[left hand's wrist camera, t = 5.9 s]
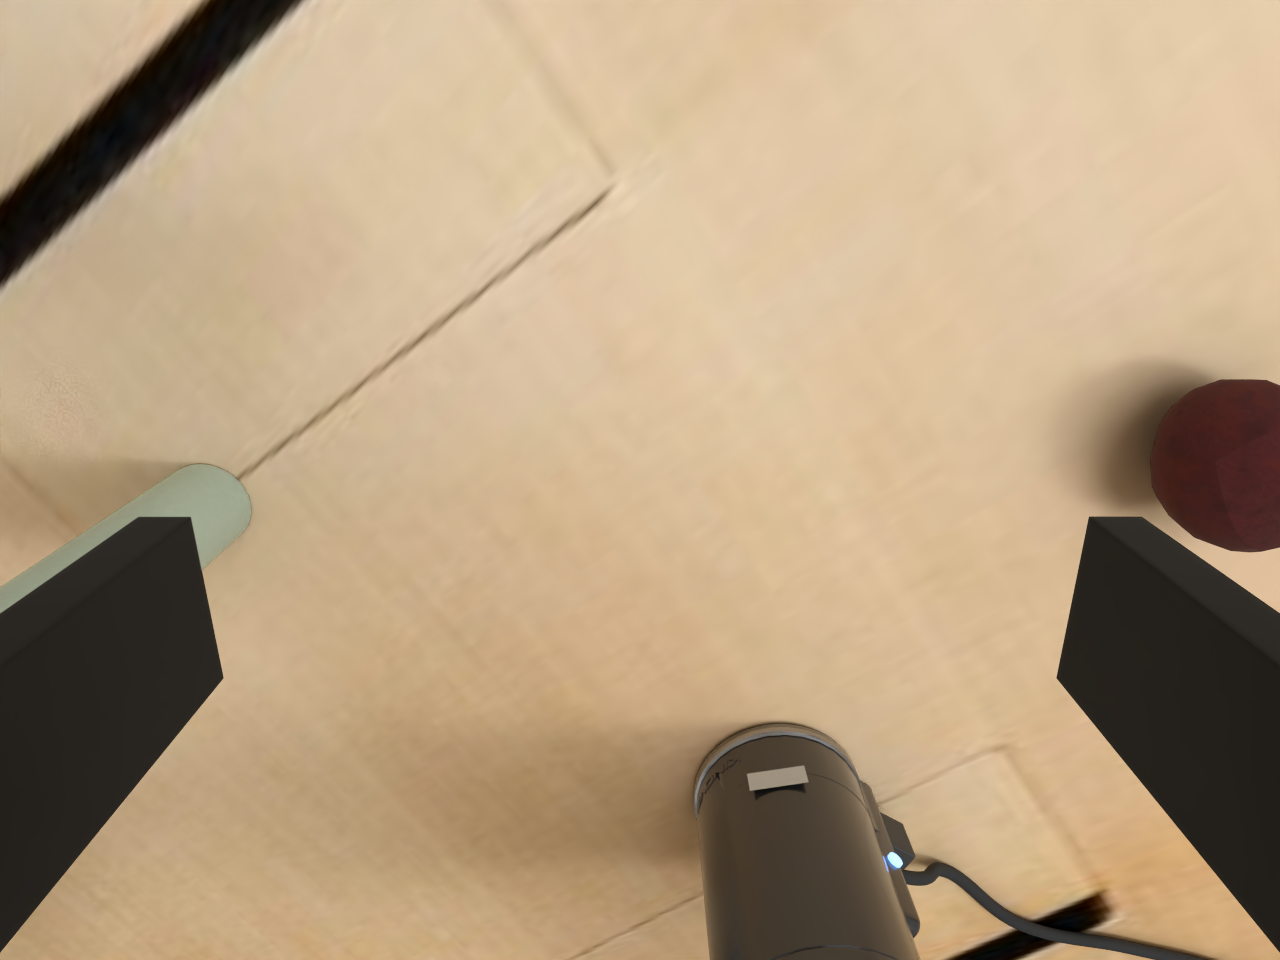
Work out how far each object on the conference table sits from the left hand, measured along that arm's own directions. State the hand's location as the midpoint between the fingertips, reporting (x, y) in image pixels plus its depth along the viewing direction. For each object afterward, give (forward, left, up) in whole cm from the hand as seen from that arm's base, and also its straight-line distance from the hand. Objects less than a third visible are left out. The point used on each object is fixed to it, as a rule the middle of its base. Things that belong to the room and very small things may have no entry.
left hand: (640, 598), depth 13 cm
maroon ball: (+6, +27, -28) cm, 39 cm away
